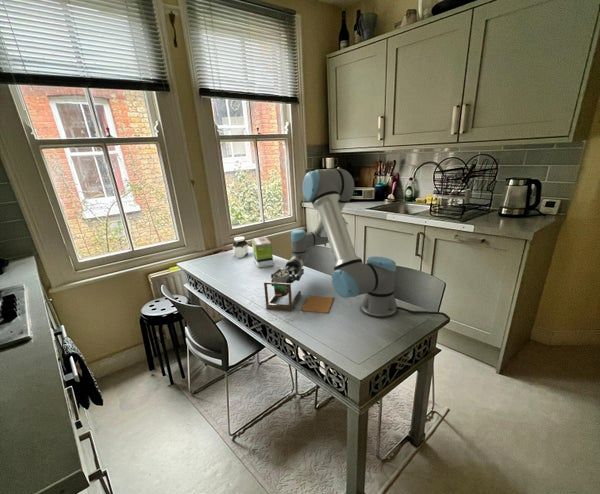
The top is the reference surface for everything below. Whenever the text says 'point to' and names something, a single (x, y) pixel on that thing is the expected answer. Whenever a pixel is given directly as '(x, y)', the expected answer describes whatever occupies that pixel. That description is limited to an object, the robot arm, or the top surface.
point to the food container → (281, 278)
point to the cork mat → (317, 304)
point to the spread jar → (240, 247)
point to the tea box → (262, 252)
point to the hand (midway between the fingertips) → (279, 283)
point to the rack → (270, 303)
